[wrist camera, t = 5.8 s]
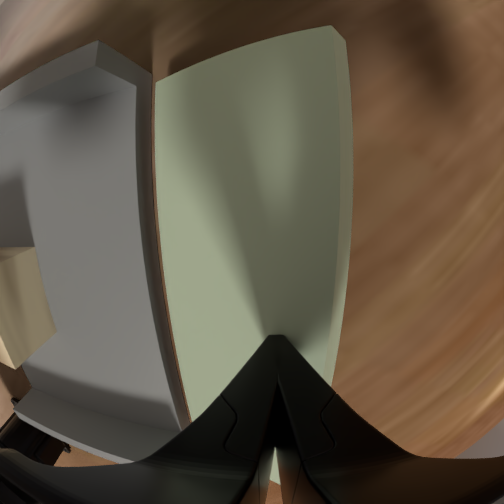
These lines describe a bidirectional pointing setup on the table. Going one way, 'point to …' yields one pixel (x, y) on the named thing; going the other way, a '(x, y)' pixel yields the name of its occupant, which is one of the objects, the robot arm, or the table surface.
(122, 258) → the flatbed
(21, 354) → the beech block
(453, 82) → the table surface
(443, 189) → the table surface
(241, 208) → the panel
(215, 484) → the robot arm
